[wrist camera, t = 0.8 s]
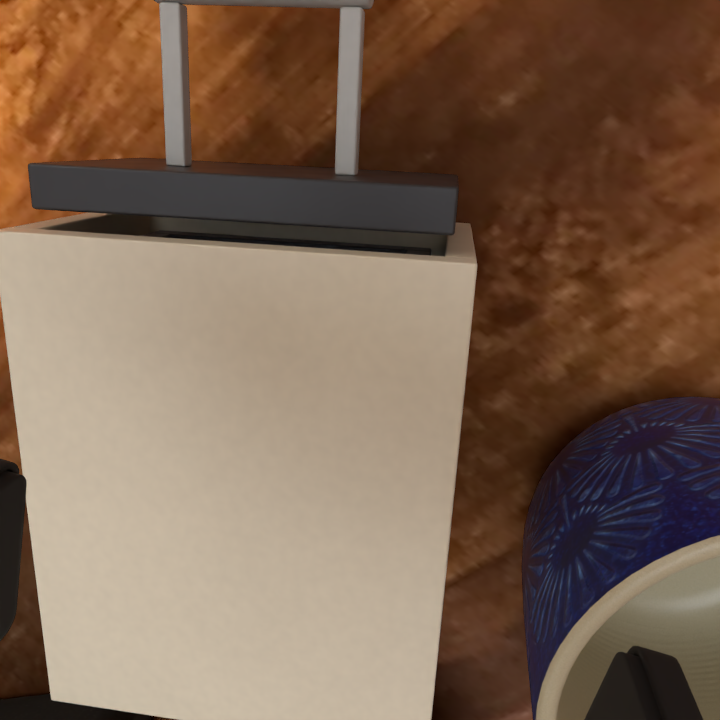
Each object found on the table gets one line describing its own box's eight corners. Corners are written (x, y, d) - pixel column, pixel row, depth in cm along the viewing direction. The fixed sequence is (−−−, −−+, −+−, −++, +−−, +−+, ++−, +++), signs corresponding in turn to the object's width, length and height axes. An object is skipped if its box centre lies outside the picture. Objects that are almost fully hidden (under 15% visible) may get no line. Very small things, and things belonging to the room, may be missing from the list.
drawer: (130, -21, 22) (-1, -86, 16) (475, -14, 21) (483, -82, 15) (159, 510, 29) (74, 616, 22) (425, 541, 27) (416, 663, 21)
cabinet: (138, 202, 26) (-9, 230, 18) (470, 223, 24) (478, 263, 16) (158, 552, 31) (50, 701, 22) (435, 587, 29) (427, 759, 21)
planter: (476, 605, 29) (487, 859, 19) (548, 335, 25) (611, 470, 15) (770, 671, 28) (951, 976, 18) (894, 401, 24) (1220, 595, 14)
